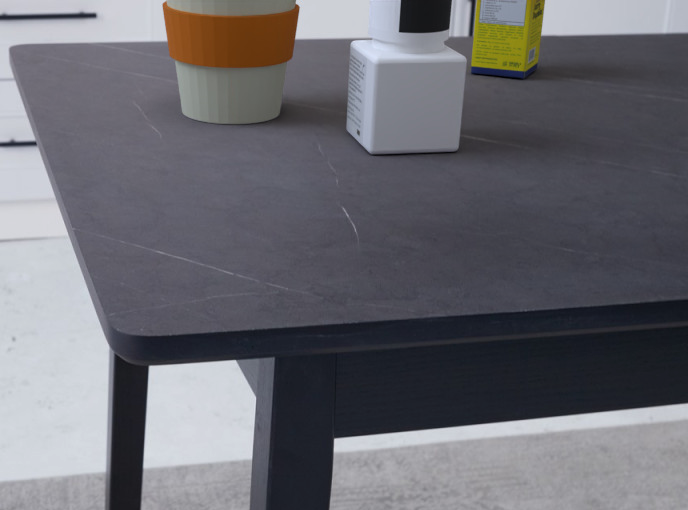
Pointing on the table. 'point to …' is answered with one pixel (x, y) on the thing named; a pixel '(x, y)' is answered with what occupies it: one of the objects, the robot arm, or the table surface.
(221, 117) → the reusable coffee cup
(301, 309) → the table surface
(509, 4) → the supplement box
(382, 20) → the container
